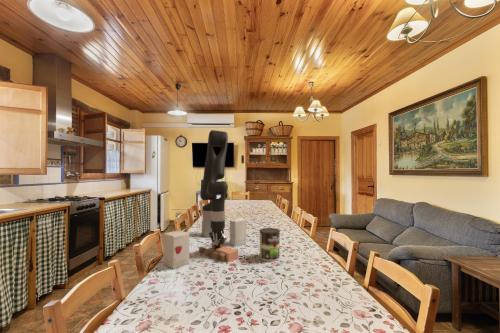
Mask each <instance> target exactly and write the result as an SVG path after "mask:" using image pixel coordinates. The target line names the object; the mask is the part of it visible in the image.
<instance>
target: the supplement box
mask: <svg viewBox="0 0 500 333" xmlns="http://www.w3.org/2000/svg"><path fill="white" fill-rule="evenodd" d="M162 264H163V265H164V264H165V265H164V266H166V265H167V266H166V267H168V266H169V267H168V268H170V267H171V268H170V269H172V268H173V269H172V270H175V269H178V268H182V267H185V266H187V265H189V264H190V233H189V232H187V231H183V230H174V231H170V232H164V233H163V262H162ZM184 265H185V266H184ZM181 266H182V267H181ZM177 267H178V268H177ZM174 268H175V269H174Z"/></svg>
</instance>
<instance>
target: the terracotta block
mask: <svg viewBox="0 0 500 333" xmlns="http://www.w3.org/2000/svg"><path fill="white" fill-rule="evenodd" d="M234 249H235V248H231V247H228V246H224V247H221V248H218V249H216V252H217V253H220V254H221V253H225V254H226V255H225V261H224V262H229V263H230V262H232V261H235V260H237V259H238V258H239V250H238V251H237V250H234Z"/></svg>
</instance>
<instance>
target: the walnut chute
mask: <svg viewBox="0 0 500 333" xmlns="http://www.w3.org/2000/svg"><path fill="white" fill-rule="evenodd" d="M221 247H224V246H223V245H220V248H221ZM233 249H234V250H237V251H238V252H239V249H237V248H233ZM198 253H200V254H203V255H204V256H206V257H209V258H212V259H215V260H217V261H219V262H226V261H225V255H226V254H225V253H221V254H220V253H217V252H215V245H214V243H211V249H209V248H207V247H206V248H205V247H203V246H199V247H198Z"/></svg>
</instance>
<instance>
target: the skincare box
mask: <svg viewBox="0 0 500 333" xmlns="http://www.w3.org/2000/svg"><path fill="white" fill-rule="evenodd" d="M246 235H247V220H246V219H244V218H241V217H240V218H236V219H230V220H229V245H231V246H234V247H238V246H243V245H246V244H247V236H246Z"/></svg>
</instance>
